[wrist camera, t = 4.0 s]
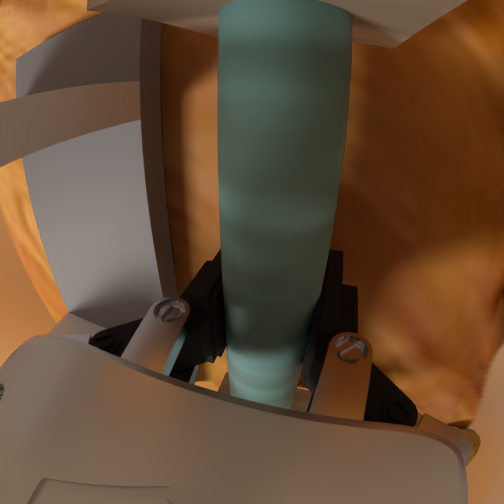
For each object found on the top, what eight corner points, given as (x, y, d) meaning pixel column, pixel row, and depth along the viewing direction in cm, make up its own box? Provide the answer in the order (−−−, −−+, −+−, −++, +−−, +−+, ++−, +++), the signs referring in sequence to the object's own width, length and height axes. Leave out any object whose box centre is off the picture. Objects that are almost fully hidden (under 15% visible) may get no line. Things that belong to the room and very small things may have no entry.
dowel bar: (214, 9, 7) (92, -38, 2) (393, 18, 6) (456, -58, 1) (226, 381, 18) (194, 457, 13) (314, 400, 17) (296, 482, 12)
